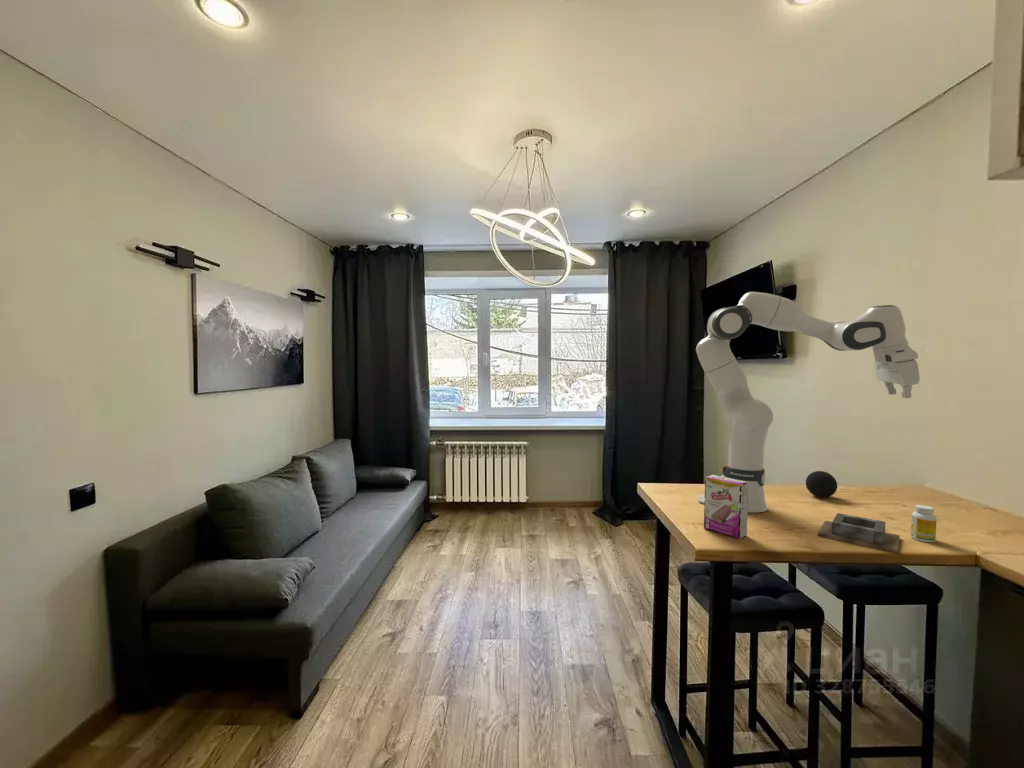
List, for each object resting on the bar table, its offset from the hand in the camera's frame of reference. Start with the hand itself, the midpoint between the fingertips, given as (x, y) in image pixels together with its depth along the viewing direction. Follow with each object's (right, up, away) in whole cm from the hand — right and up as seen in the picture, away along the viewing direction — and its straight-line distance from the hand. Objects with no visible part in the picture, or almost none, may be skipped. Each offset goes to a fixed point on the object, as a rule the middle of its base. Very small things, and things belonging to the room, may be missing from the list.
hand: (899, 396), depth 145 cm
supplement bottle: (-6, -42, -15) cm, 44 cm away
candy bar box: (-61, -41, -10) cm, 74 cm away
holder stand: (-24, -41, -13) cm, 49 cm away
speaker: (-7, -40, +27) cm, 49 cm away
